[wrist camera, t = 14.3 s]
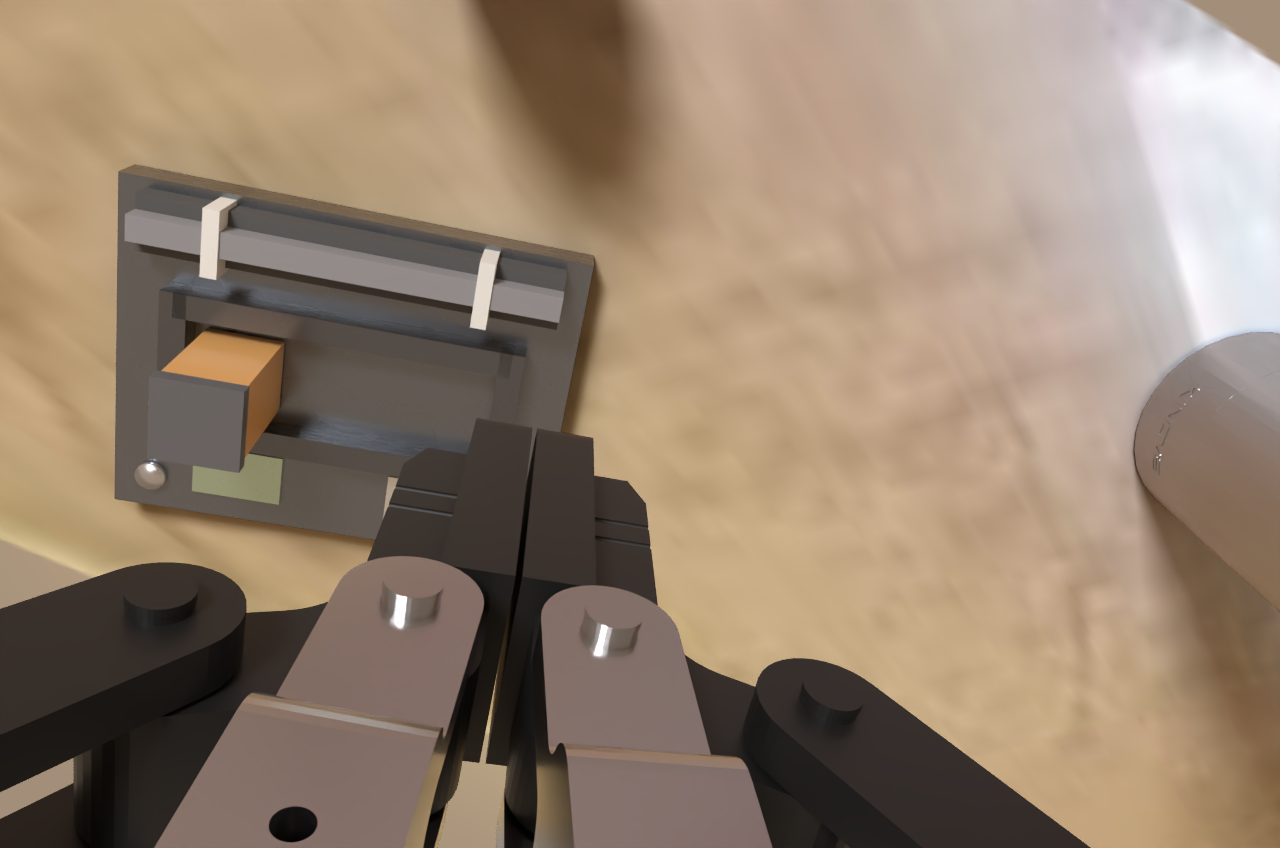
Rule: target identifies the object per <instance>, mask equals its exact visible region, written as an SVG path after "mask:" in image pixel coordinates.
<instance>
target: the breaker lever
mask: <svg viewBox="0 0 1280 848" xmlns="http://www.w3.org/2000/svg"><path fill="white" fill-rule="evenodd" d="M284 345H285V342H283V341H277V340H272V339H266V338H260V337H255V336H249V335H244V334H238V333H233V332H227V331H222V330H216V329H210V328H207V329H206V330H205V331H204V332H202V333H201V334H200V335H199V336H198V337H197V338H196V339H195V340H194V341H193V342H192V343H191V344H190V345H188V346H187V347H186V348H185V349H184V350H183V351H182V352H181V353H180V354H179V355H178V356H177V357H175V358H174V359H173V360H172V361H171V362H170V363H169V364H168V365H167V366H166V367H165V368H164V369H163V370H161V371H159V370H155V371H154V372H153V373H152V374H151V375H150V376H149V399H148V438H147V458H149V459H155V460H162V461H168V462H174V463H180V464H186V465H192V466H198V467H205V468H211V469H217V470H223V471H229V472H235V473H239V472H240V471H241V470H242V468H243V467H244V461H245V457H246V456H247V454H248V453H249V452H250V450H251V449H252V447H253V446H254V445H255V443H256V442H257V440H258V439H259V438H260V436H261V435H262V433H263V432H264V430H265V429H266V428H267V426H268V425H269V423H270V422H271V421H272V419H273V418H274V416H275V415H276V414H277V412H278V411H279V407H280V394H281V382H282V370H283V357H284Z"/></svg>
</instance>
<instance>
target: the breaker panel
mask: <svg viewBox="0 0 1280 848" xmlns="http://www.w3.org/2000/svg"><path fill="white" fill-rule="evenodd" d="M144 188H151V189H156V190H162V191H167V192H172V193H177V194H182V195H187V196H192V197H197V198H202V199H207V200H213V201H215V200H216V199H218V198H220V197H224V198H229V199H234V200H237V205H238V206H243V207H248V208H253V209H258V210H264V211H269V212H274V213H279V214H284V215H289V216H294V217H299V218H304V219H309V220H315V221H320V222H325V223H330V224H335V225H340V226H345V227H350V228H355V229H360V230H366V231H371V232H376V233H381V234H386V235H391V236H396V237H401V238H406V239H411V240H417V241H422V242H427V243H432V244H437V245H442V246H447V247H452V248H457V249H462V250H468V251H473V252H478V253H483V252H484V250H485V249H488V250H494V251H499V252H500V256H499V257H503V258H508V259H513V260H519V261H524V262H529V263H534V264H539V265H544V266H549V267H554V268H559V269H564V270H567V279H566V284H565V289H564V299H563V304H562V309H561V314H560V320H559V323H558V326H557V330H553V329H548V328H543V327H537V326H532V325H527V324H522V323H516V322H511V321H506V320H500V319H495V318H490V317H489V319H488V323H487V326H486V330H482V329H476V328H471V327H470V323H471V316H472V314H468V313H463V312H458V311H452V310H447V309H442V308H436V307H431V306H426V305H420V304H415V303H410V302H404V301H399V300H394V299H388V298H383V297H378V296H373V295H367V294H362V293H357V292H351V291H346V290H341V289H335V288H330V287H325V286H319V285H314V284H309V283H303V282H298V281H293V280H287V279H282V278H277V277H271V276H266V275H261V274H255V273H250V272H245V271H239V270H234V269H229V270H228V271H227V272H225V273H224V274H223V275H222V276H221V277H219V278H218V279H217V280H213V279H208V278H202V277H199V274H200V263H197V262H192V261H186V260H181V259H176V258H170V257H165V256H160V255H154V254H149V253H144V252H138V251H134V243H133V242H128V241H125V214H126V213H128V212H130V211H132V210H134V209H135V193H136V192H138V191H140V190H142V189H144ZM593 268H594V256H593V255H588V254H583V253H578V252H573V251H567V250H562V249H557V248H552V247H547V246H542V245H537V244H532V243H527V242H522V241H517V240H512V239H507V238H502V237H497V236H492V235H487V234H482V233H477V232H472V231H467V230H462V229H457V228H452V227H447V226H442V225H437V224H432V223H427V222H421V221H416V220H411V219H406V218H401V217H396V216H391V215H386V214H381V213H376V212H371V211H366V210H361V209H356V208H351V207H346V206H341V205H336V204H331V203H326V202H321V201H316V200H311V199H306V198H301V197H296V196H291V195H286V194H280V193H275V192H270V191H265V190H260V189H255V188H250V187H245V186H240V185H235V184H230V183H225V182H220V181H215V180H210V179H205V178H200V177H195V176H190V175H185V174H180V173H175V172H170V171H165V170H160V169H155V168H150V167H145V166H140V165H133V166H130V167H128V168H126V169H123V170H121V171H119V175H118V259H117V343H116V427H115V499H118V500H125V501H131V502H137V503H144V504H150V505H156V506H163V507H169V508H176V509H182V510H188V511H195V512H201V513H207V514H214V515H220V516H227V517H233V518H239V519H246V520H252V521H259V522H265V523H271V524H278V525H284V526H290V527H297V528H303V529H310V530H316V531H322V532H329V533H335V534H341V535H348V536H354V537H361V538H367V539H373V540H375V539H376V537H377V534H378V531H379V529H380V526H381V523H382V521H383V518H384V515H385V512H386V510H387V507H389V502H390V499H391V496H392V494H393V491H394V489H395V487H396V483H397V480H398V478H399V475H400V472H401V470H402V467H403V464H404V463H405V462H407V461H408V460H410V459H411V458H413V457H414V456H416V455H417V454H419V453H420V452H422V451H423V450H425V449H426V448H433V449H439V450H445V451H451V452H456V453H462V454H468V450H469V446H470V442H471V438H472V434H473V430H474V426H475V422H476V418H481V419H486V420H492V421H498V422H504V423H509V424H515V425H521V426H526V427H532V428H533V429H532V438H531V447H530V455H529V464H528V472H529V466H530V461H531V456H532V451H533V446H534V441H535V436H536V432H537V428H539V429H545V430H550V431H556V432H561V427H562V422H563V417H564V412H565V407H566V402H567V397H568V392H569V387H570V382H571V377H572V372H573V367H574V362H575V357H576V352H577V347H578V342H579V337H580V332H581V328H582V323H583V318H584V313H585V308H586V303H587V298H588V293H589V288H590V283H591V278H592V273H593ZM207 328H210V329H216V330H222V331H227V332H233V333H238V334H244V335H249V336H255V337H260V338H266V339H272V340H277V341H283V342H285V345H284V357H283V370H282V382H281V394H280V407H279V411H278V412H277V414H276V415H275V416H274V418H273V419H272V421H271V422H270V423H269V425H268V426H267V428H266V429H265V430H264V432H263V433H262V435H261V436H260V438H259V439H258V440H257V442H256V443H255V445H254V446H253V447H252V449H251V450H250V452H249V453H248V454H247V456H246V457H245V461H244V467H243V468H242V470H241V471H240V472H239V473H235V472H229V471H223V470H217V469H211V468H205V467H198V466H192V465H186V464H180V463H174V462H168V461H162V460H155V459H149V458H147V438H148V399H149V376H150V375H151V374H152V373H153V372H154V371H155V370H159V371H161V370H163V369H164V368H165V367H166V366H167V365H168V364H169V363H170V362H171V361H172V360H173V359H174V358H175V357H177V356H178V355H179V354H180V353H181V352H182V351H183V350H184V349H185V348H186V347H187V346H188V345H190V344H191V343H192V342H193V341H194V340H195V339H196V338H197V337H198V336H199V335H200V334H201V333H202V332H204V331H205V330H206V329H207ZM527 477H528V473H527ZM526 482H527V481H526Z"/></svg>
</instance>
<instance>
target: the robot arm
mask: <svg viewBox="0 0 1280 848" xmlns="http://www.w3.org/2000/svg"><path fill="white" fill-rule="evenodd" d="M532 429H533V428H532V427H526V426H521V425H515V424H509V423H504V422H498V421H492V420H486V419H481V418H476V422H475V426H474V430H473V434H472V438H471V442H470V446H469V450H468V454H462V453H456V452H451V451H445V450H439V449H433V448H426V449H425V450H423V451H422V452H420V453H419V454H417V455H416V456H414V457H413V458H411V459H410V460H408V461H407V462H405V463H404V464H403V467H402V470H401V472H400V475H399V478H398V480H397V483H396V487H395V489H394V491H393V494H392V496H391V499H390V502H389V507H387V510H386V512H385V515H384V518H383V521H382V523H381V526H380V529H379V531H378V534H377V537H376V539H375V542H374V545H373V547H372V550H371V553H370V555H369V558H368V561H367V562H365V563H362V564H360V565H358V566H356V567H354V568H353V569H351V570H350V571H349V572H347V573H346V574H345V575H344V576H343V578H342V579H341V580H340V582H339V583H338V585H337V587H336V589H335V591H334V592H333V594H332V596H331V598H330V600H329V601H328V602H326V603H323V604H320V605H316V606H313V607H308V608H303V609H297V610H287V611H271V612H252V613H246V598H245V595H244V593H243V591H242V590H241V589H240V587H239V586H238V585H237V584H236V583H235V582H234V581H233V580H231V579H230V578H228V577H226V576H225V575H223V574H221V573H219V572H216V571H214V570H212V569H208V568H205V567H201V566H197V565H191V564H184V563H149V564H141V565H135V566H130V567H126V568H122V569H119V570H115V571H112V572H109V573H106V574H103V575H100V576H97V577H94V578H91V579H89V580H86V581H83V582H80V583H77V584H74V585H71V586H68V587H65V588H62V589H59V590H56V591H53V592H50V593H47V594H44V595H41V596H38V597H35V598H32V599H29V600H26V601H23V602H20V603H17V604H14V605H11V606H8V607H5V608H2V609H0V792H1V791H3V790H6V789H8V788H10V787H12V786H14V785H16V784H18V783H20V782H23V781H25V780H27V779H29V778H31V777H33V776H35V775H38V774H40V773H42V772H44V771H46V770H48V769H50V768H53V767H54V766H57V765H59V764H61V763H63V762H65V761H67V760H70V759H71V758H74V783H73V784H71V785H69V786H67V787H65V788H63V789H61V790H59V791H57V792H55V793H52V794H50V795H48V796H47V797H44V798H42V799H40V800H38V801H36V802H34V803H32V804H30V805H28V806H26V807H24V808H22V809H20V810H18V811H16V812H14V813H12V814H10V815H8V816H5V817H3V818H1V819H0V848H438V845H439V841H440V837H441V834H442V829H443V826H444V821H445V816H446V811H447V805H448V801H449V800H450V799H451V798H452V796H453V795H454V793H455V791H456V789H457V786H458V782H459V777H460V771H461V766H462V761H469V762H477V763H479V762H480V756H481V751H482V746H483V741H484V736H485V731H486V726H487V720H488V715H489V710H490V705H491V700H492V695H493V690H494V684H495V679H496V685H495V693H494V701H493V709H492V717H491V725H490V733H489V741H488V749H487V757H486V763H487V764H495V765H503V766H507V773H506V783H505V789H504V793H503V798H502V803H501V808H500V812H499V817H498V822H497V830H496V848H1090V847H1089V846H1088V845H1086V844H1085V843H1084V842H1082V841H1081V840H1080V839H1078V838H1077V837H1076V836H1074V835H1073V834H1072V833H1070V832H1069V831H1067V830H1066V829H1065V828H1063V827H1062V826H1061V825H1059V824H1058V823H1057V822H1055V821H1054V820H1053V819H1051V818H1050V817H1049V816H1047V815H1046V814H1045V813H1043V812H1042V811H1041V810H1039V809H1038V808H1037V807H1035V806H1034V805H1033V804H1031V803H1030V802H1029V801H1027V800H1026V799H1025V798H1023V797H1022V796H1021V795H1019V794H1018V793H1017V792H1015V791H1014V790H1013V789H1011V788H1010V787H1009V786H1007V785H1006V784H1005V783H1003V782H1002V781H1001V780H999V779H998V778H997V777H995V776H994V775H993V774H991V773H990V772H989V771H987V770H986V769H985V768H983V767H982V766H981V765H979V764H978V763H977V762H975V761H974V760H973V759H971V758H970V757H969V756H967V755H966V754H965V753H963V752H962V751H961V750H959V749H958V748H957V747H955V746H954V745H952V744H951V743H950V742H948V741H947V740H946V739H944V738H943V737H942V736H940V735H939V734H938V733H936V732H935V731H934V730H932V729H931V728H930V727H928V726H927V725H926V724H924V723H923V722H922V721H920V720H919V719H918V718H916V717H915V716H914V715H912V714H911V713H910V712H908V711H907V710H906V709H904V708H903V707H902V706H900V705H899V704H898V703H896V702H895V701H894V700H892V699H891V698H890V697H888V696H887V695H886V694H884V693H883V692H882V691H880V690H879V689H878V688H876V687H875V686H874V685H872V684H871V683H869V682H868V681H866V680H865V679H863V678H862V677H860V676H858V675H857V674H855V673H853V672H851V671H849V670H846V669H844V668H842V667H840V666H837V665H834V664H830V663H827V662H823V661H819V660H813V659H804V658H793V659H786V660H781V661H778V662H775V663H773V664H771V665H769V666H768V667H766V668H765V669H764V670H763V671H762V673H761V674H760V676H759V678H758V681H757V684H756V687H754V686H751V685H749V684H746V683H743V682H740V681H738V680H735V679H732V678H729V677H727V676H724V675H721V674H719V673H716V672H714V671H712V670H709V669H707V668H705V667H703V666H702V665H700V664H698V663H696V662H695V661H693V660H692V659H690V658H689V657H687V656H686V655H685V654H684V650H683V647H682V643H681V639H680V635H679V632H678V629H677V627H676V625H675V623H674V622H673V620H672V619H671V618H670V616H669V615H668V614H667V613H666V612H665V611H664V610H662V609H661V608H660V607H659V606H658V604H657V596H656V587H655V579H654V570H653V562H652V553H651V549H650V536H649V530H648V519H647V510H646V503H645V502H644V501H643V500H642V498H641V497H640V496H639V495H638V494H637V492H636V491H635V490H634V489H633V487H632V486H631V485H630V484H629V483H628V481H623V480H617V479H611V478H605V477H599V476H594V448H593V438H590V437H585V436H579V435H573V434H567V433H562V432H556V431H550V430H545V429H539V428H537V432H536V436H535V441H534V446H533V451H532V456H531V461H530V466H529V472H528V464H529V455H530V447H531V438H532ZM1134 451H1135V458H1136V466H1137V470H1138V472H1139V474H1140V477H1141V479H1142V482H1143V484H1144V485H1145V486H1146V488H1147V489H1148V490H1149V491H1150V493H1151V494H1152V495H1153V497H1154V498H1155V499H1157V500H1158V501H1159V502H1160V503H1161V504H1162V505H1163V506H1164V507H1165V508H1166V509H1168V510H1169V511H1170V512H1171V513H1172V514H1173V515H1174V516H1175V517H1176V518H1177V519H1179V520H1180V521H1181V522H1182V523H1183V524H1184V525H1185V526H1186V527H1187V528H1188V529H1190V530H1191V531H1192V532H1193V533H1194V534H1195V535H1196V536H1197V537H1198V538H1199V539H1200V540H1201V541H1202V542H1203V543H1204V544H1205V545H1207V546H1208V547H1209V548H1210V549H1211V550H1212V551H1213V552H1214V553H1215V554H1216V555H1218V556H1219V557H1220V558H1221V559H1222V560H1223V561H1224V562H1225V563H1226V564H1227V565H1229V566H1230V567H1231V568H1232V569H1233V570H1234V571H1235V572H1236V573H1237V574H1238V575H1240V576H1241V577H1242V578H1243V579H1244V580H1245V581H1246V582H1247V583H1248V584H1249V585H1251V586H1252V587H1253V588H1254V589H1255V590H1256V591H1257V592H1258V593H1259V594H1260V595H1262V596H1263V597H1264V598H1265V599H1266V600H1267V601H1268V602H1269V603H1270V604H1271V605H1273V606H1274V607H1275V608H1276V609H1277V610H1278V611H1279V612H1280V334H1278V333H1273V332H1251V333H1246V334H1241V335H1236V336H1231V337H1227V338H1225V339H1222V340H1220V341H1217V342H1215V343H1212V344H1210V345H1207V346H1206V347H1204V348H1202V349H1201V350H1199V351H1197V352H1196V353H1194V354H1192V355H1191V356H1189V357H1187V358H1186V359H1185V360H1184V361H1183V362H1181V363H1180V364H1179V365H1178V366H1177V367H1176V368H1174V369H1173V370H1172V371H1171V372H1170V373H1169V374H1168V375H1167V376H1166V377H1165V378H1164V380H1163V381H1162V382H1161V383H1160V385H1159V386H1158V387H1157V388H1156V389H1155V391H1154V392H1153V394H1152V395H1151V397H1150V399H1149V401H1148V403H1147V404H1146V406H1145V408H1144V410H1143V412H1142V415H1141V418H1140V421H1139V424H1138V427H1137V430H1136V439H1135V448H1134ZM527 473H528V477H527ZM526 481H527V482H526ZM496 674H497V677H496Z"/></svg>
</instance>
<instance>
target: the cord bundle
mask: <svg viewBox="0 0 1280 848" xmlns="http://www.w3.org/2000/svg"><path fill="white" fill-rule="evenodd" d="M125 241H128V242H133V243H134V251H138V252H144V253H149V254H154V255H160V256H165V257H170V258H176V259H181V260H186V261H192V262H197V263H200V274H199V277H202V278H208V279H213V280H217V279H218V278H219V277H221V276H222V275H223V274H224V273H225V272H227V271H228V270H229V269H234V270H239V271H245V272H250V273H255V274H261V275H266V276H271V277H277V278H282V279H287V280H293V281H298V282H303V283H309V284H314V285H319V286H325V287H330V288H335V289H341V290H346V291H351V292H357V293H362V294H367V295H373V296H378V297H383V298H388V299H394V300H399V301H404V302H410V303H415V304H420V305H426V306H431V307H436V308H442V309H447V310H452V311H458V312H463V313H468V314H472V316H471V323H470V327H471V328H476V329H482V330H486V326H487V323H488V319H489V317H490V318H495V319H500V320H506V321H511V322H516V323H522V324H527V325H532V326H537V327H543V328H548V329H553V330H557V326H558V323H559V320H560V314H561V309H562V304H563V299H564V289H565V284H566V279H567V270H564V269H559V268H554V267H549V266H544V265H539V264H534V263H529V262H524V261H519V260H513V259H508V258H503V257H499V256H500V252H499V251H494V250H488V249H485V250H484V252H483V253H478V252H473V251H468V250H462V249H457V248H452V247H447V246H442V245H437V244H432V243H427V242H422V241H417V240H411V239H406V238H401V237H396V236H391V235H386V234H381V233H376V232H371V231H366V230H360V229H355V228H350V227H345V226H340V225H335V224H330V223H325V222H320V221H315V220H309V219H304V218H299V217H294V216H289V215H284V214H279V213H274V212H269V211H264V210H258V209H253V208H248V207H243V206H238V205H237V200H234V199H229V198H224V197H220V198H218V199H216V200H215V201H213V200H207V199H202V198H197V197H192V196H187V195H182V194H177V193H172V192H167V191H162V190H156V189H151V188H144V189H142V190H140V191H138V192H136V193H135V209H134V210H132V211H130V212H128V213H126V214H125Z"/></svg>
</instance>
